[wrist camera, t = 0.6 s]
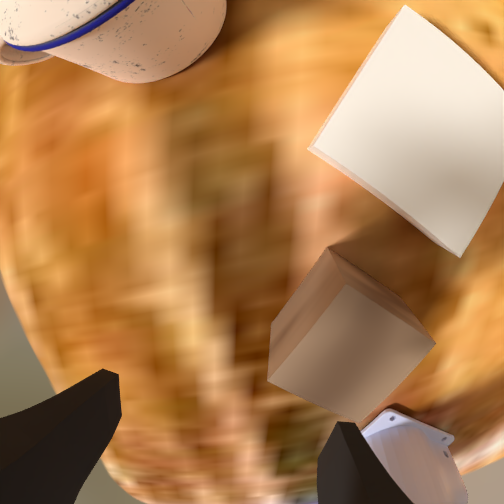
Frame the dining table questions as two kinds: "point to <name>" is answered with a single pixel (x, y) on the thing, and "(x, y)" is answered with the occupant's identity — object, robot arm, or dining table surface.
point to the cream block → (421, 131)
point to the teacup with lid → (111, 34)
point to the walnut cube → (344, 340)
